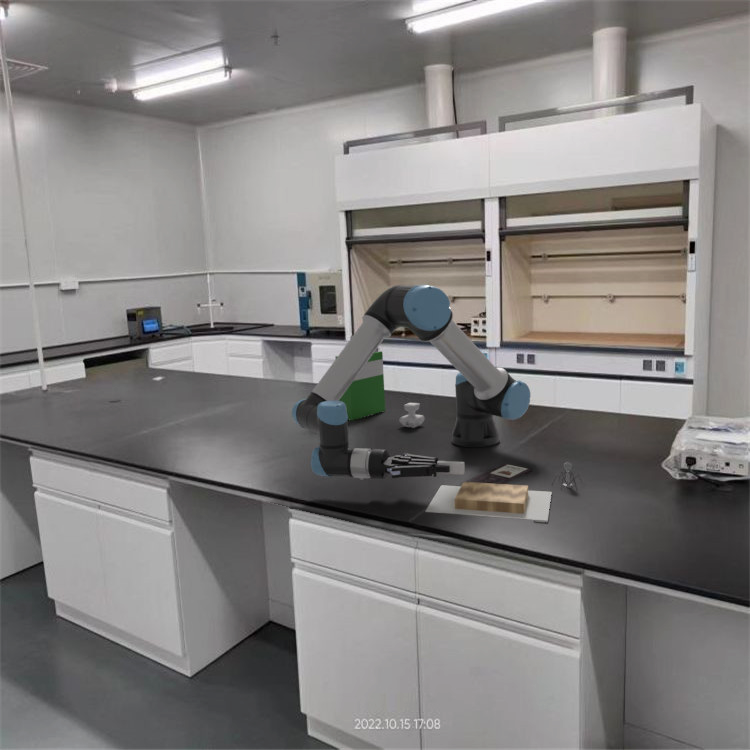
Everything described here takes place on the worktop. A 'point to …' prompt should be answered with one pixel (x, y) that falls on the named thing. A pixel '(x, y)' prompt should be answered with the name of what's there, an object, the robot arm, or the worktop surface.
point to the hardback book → (366, 390)
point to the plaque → (492, 497)
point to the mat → (534, 510)
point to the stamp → (412, 416)
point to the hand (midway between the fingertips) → (463, 468)
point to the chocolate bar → (501, 474)
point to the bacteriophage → (567, 475)
